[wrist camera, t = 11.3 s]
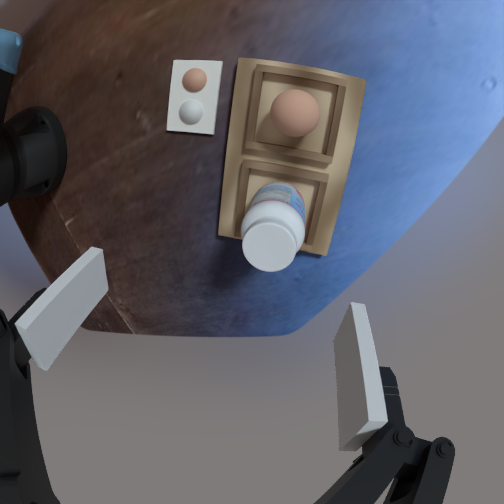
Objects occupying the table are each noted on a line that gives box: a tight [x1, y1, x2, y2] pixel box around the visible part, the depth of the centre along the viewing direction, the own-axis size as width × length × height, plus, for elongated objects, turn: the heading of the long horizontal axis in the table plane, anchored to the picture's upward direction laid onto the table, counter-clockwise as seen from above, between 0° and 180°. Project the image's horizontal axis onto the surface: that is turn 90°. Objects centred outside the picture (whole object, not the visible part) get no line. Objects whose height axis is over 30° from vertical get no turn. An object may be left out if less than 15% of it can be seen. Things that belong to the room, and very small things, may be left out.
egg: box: [270, 89, 320, 137], centre depth 27 cm, size 5×5×5 cm
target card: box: [167, 60, 223, 134], centre depth 31 cm, size 6×9×1 cm, turn 172°
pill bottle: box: [241, 182, 305, 272], centre depth 30 cm, size 6×6×11 cm
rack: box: [218, 58, 366, 256], centre depth 32 cm, size 14×22×2 cm, turn 172°
